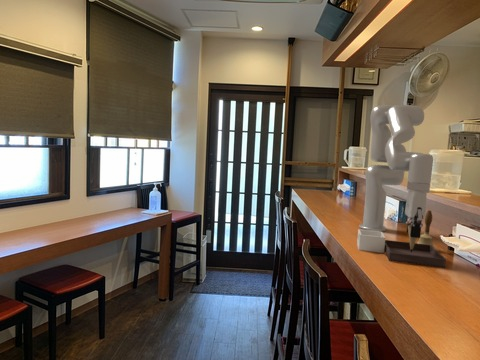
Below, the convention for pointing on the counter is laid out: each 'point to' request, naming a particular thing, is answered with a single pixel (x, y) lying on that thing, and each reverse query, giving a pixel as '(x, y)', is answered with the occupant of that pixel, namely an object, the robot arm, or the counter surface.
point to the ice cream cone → (411, 239)
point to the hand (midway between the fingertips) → (413, 234)
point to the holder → (371, 241)
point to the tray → (413, 254)
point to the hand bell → (427, 230)
